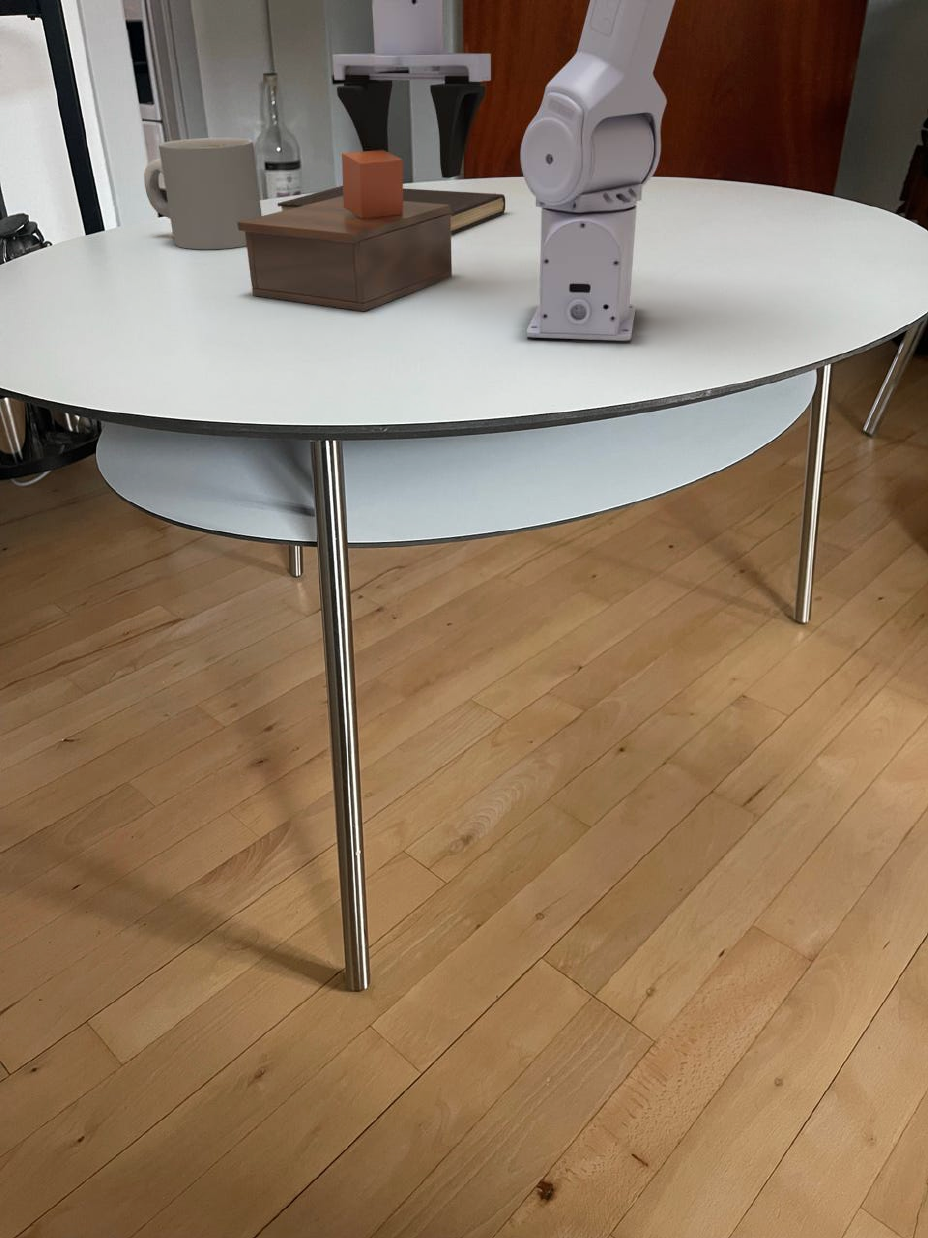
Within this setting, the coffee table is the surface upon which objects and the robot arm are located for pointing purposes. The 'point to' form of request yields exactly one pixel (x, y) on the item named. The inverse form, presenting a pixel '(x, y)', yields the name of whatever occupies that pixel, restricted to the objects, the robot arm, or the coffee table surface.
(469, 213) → the hardcover book
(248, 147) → the coffee mug
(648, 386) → the coffee table surface
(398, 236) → the box
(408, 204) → the lid
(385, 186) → the block
